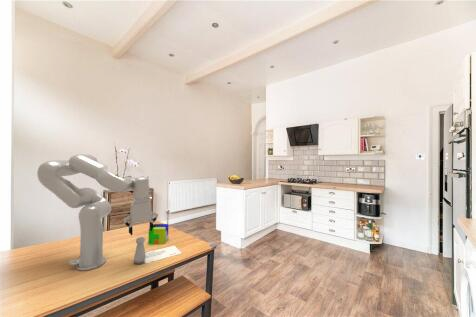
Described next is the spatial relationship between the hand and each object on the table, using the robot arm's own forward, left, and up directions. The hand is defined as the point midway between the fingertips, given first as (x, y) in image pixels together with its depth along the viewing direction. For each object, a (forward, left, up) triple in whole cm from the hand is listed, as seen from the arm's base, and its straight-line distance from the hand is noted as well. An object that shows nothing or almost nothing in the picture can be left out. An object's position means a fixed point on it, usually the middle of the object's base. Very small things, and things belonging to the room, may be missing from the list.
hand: (141, 232), depth 107 cm
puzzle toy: (+15, +23, -16) cm, 32 cm away
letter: (+12, +4, -16) cm, 20 cm away
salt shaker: (0, 0, -16) cm, 16 cm away
